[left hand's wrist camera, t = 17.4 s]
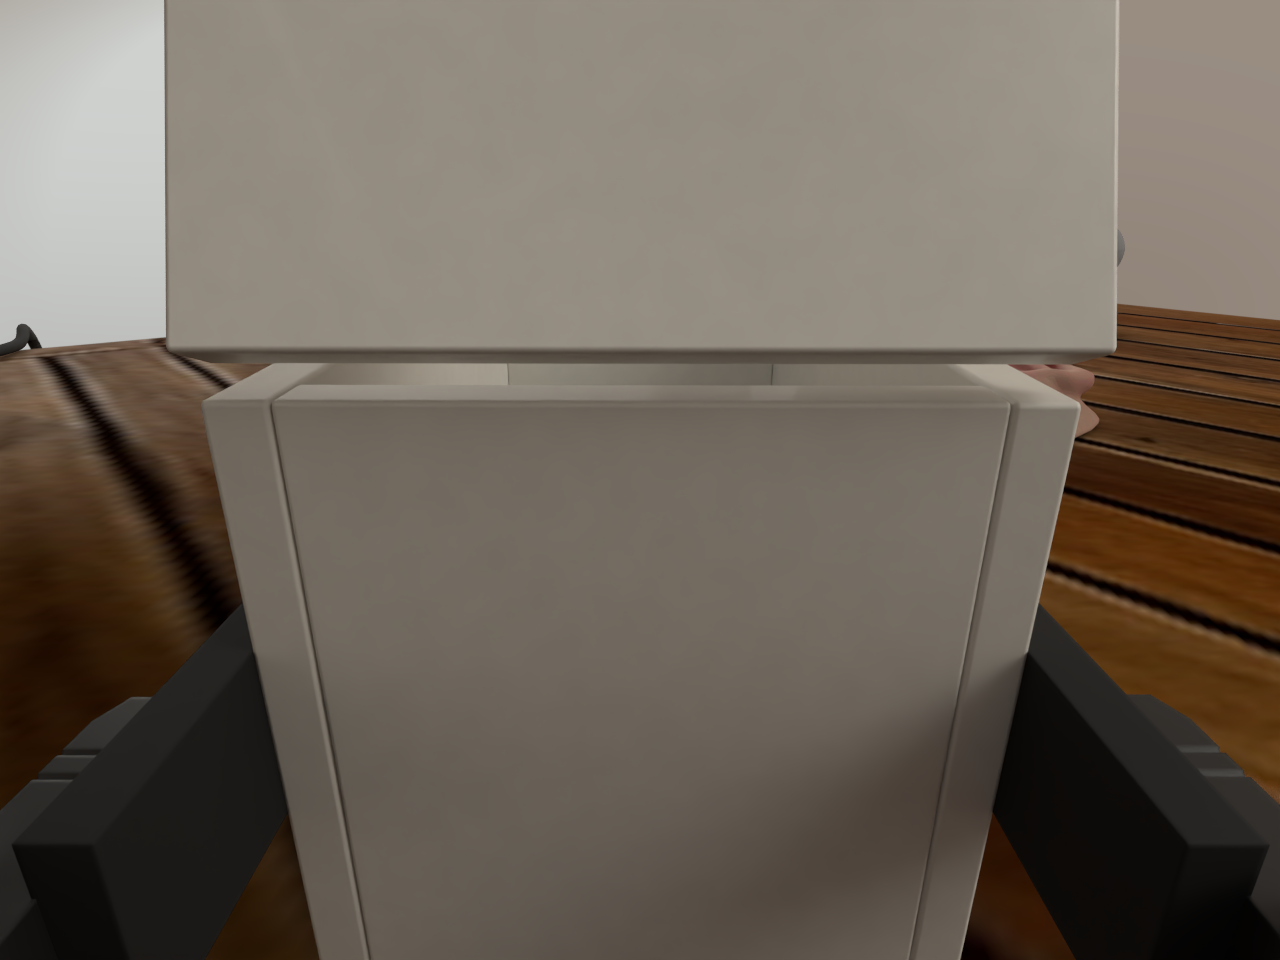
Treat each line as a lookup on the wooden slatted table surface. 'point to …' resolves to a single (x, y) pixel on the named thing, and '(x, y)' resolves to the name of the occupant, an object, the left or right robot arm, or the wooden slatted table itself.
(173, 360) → the wooden slatted table surface
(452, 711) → the chest
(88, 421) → the wooden slatted table surface
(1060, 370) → the anatomical model
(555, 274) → the lid
